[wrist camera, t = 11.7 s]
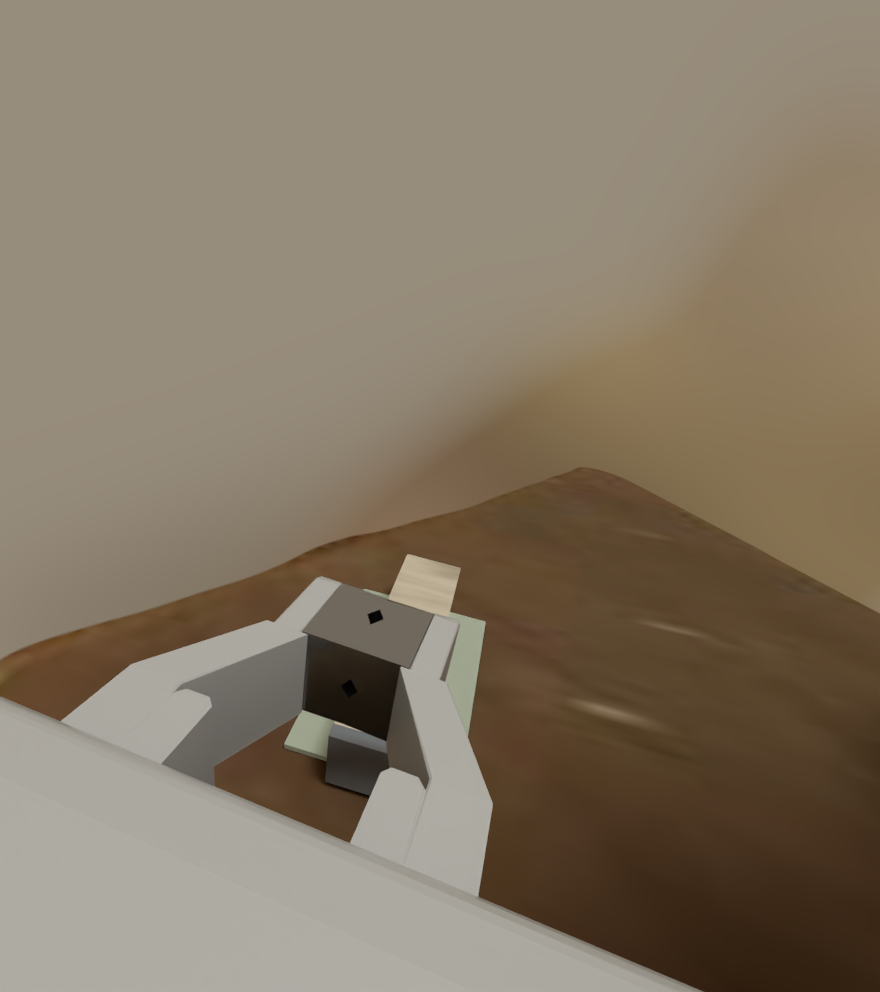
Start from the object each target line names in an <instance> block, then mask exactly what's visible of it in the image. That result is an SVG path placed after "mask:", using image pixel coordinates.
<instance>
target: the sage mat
mask: <svg viewBox="0 0 880 992" xmlns="http://www.w3.org/2000/svg"><path fill="white" fill-rule="evenodd" d="M363 590H364V591H367V592H370V593H372V594H375V595H378V596H381V597H384V598H387V599H388V598H389V595H386V594H382V593H378V592H375V591H371V590H367V589H363ZM449 618H453V619H456V620H459V621H460V627H459V631H458V635H457V639H456V643H455V647H454V651H453V655H452V659H451V663H450V667H449V670H448V674H447V677H446V681H445V682H446V683H447V684H448V686H449V689H450V692H451V694H452V697H453V700H454V702H455V705H456V708H457V710H458V713H459V716H460V718H461V721H462V723H463V726H464V729H465V731H466V734H467V737H468V732H469V726H470V719H471V713H472V706H473V700H474V693H475V687H476V680H477V674H478V668H479V661H480V655H481V648H482V642H483V635H484V629H485V623H486V622H485V621H481V620H477V619H474V618H470V617H466V616H463V615H459V614H455V613H452V612H450V613H449ZM334 722H335V721H333V720H330V719H327V718H324V717H321V716H319V715H316V714H313V713H310V712H307V711H304V710H302V713H300V714H299V716H298V718H297V720H296V722H295V724H294V725H293V727H292V729H291V731H290V733H289V735H288V737H287V739H286V741H285V743H284V748H285V749H288V750H291V751H294V752H298V753H301V754H304V755H307V756H311V757H314V758H317V759H320V760H324V761H327V749H328V737H329V734H330V731H331V729H332V727H333V724H334Z"/></svg>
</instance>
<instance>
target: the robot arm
mask: <svg viewBox="0 0 880 992" xmlns="http://www.w3.org/2000/svg"><path fill="white" fill-rule="evenodd" d="M459 627H460V621H459V620H456V619H453V618H449V617H446V616H443V615H439V614H433V613H430V612H427V611H424V610H421V609H417V608H414V607H411V606H408V605H405V604H402V603H398V602H395V601H392V600H389V599H387V598H384V597H381V596H378V595H375V594H372V593H370V592H367V591H364V590H361V589H358V588H355V587H352V586H349V585H347V584H342V583H340V582H337V581H334V580H331V579H328V578H325V577H322V576H321V577H318V578H316V579H315V580H314V581H313V582H312V583H311V584H310V585H309V586H308V587H307V588H306V589H305V590H304V591H303V592H302V593H301V595H300V596H299V597H298V598H297V599H296V600H295V601H294V602H293V603H292V604H291V605H290V606H289V607H288V608H287V609H286V610H285V611H284V612H283V613H282V614H281V616H280V617H279V618H278V619H277V620H276V621H275V622H271V621H268V620H266V621H263V622H260V623H257V624H254V625H251V626H248V627H245V628H242V629H239V630H236V631H232V632H229V633H226V634H223V635H220V636H217V637H214V638H211V639H208V640H205V641H202V642H198V643H195V644H192V645H189V646H186V647H183V648H180V649H177V650H174V651H171V652H168V653H164V654H161V655H158V656H155V657H152V658H149V659H146V660H143V661H140V662H137V663H134V664H131V665H130V666H129V667H127V668H126V669H125V670H124V671H122V672H121V673H120V674H119V675H117V676H116V677H115V678H114V679H112V680H111V681H110V682H109V683H108V684H106V685H105V686H104V687H103V688H101V689H100V690H99V691H98V692H96V693H95V694H94V695H93V696H91V697H90V698H89V699H88V700H86V701H85V702H84V703H83V704H81V705H80V706H79V707H78V708H77V709H75V710H74V711H73V712H72V713H70V714H69V715H68V716H67V717H65V718H64V719H63V720H62V721H58V720H55V719H53V718H50V717H48V716H46V715H43V714H41V713H39V712H36V711H34V710H31V709H29V708H27V707H24V706H22V705H20V704H17V703H15V702H12V701H10V700H8V699H5V698H3V697H0V992H703V991H701V990H699V989H696V988H694V987H691V986H689V985H687V984H684V983H682V982H679V981H677V980H675V979H672V978H670V977H668V976H665V975H663V974H660V973H658V972H656V971H653V970H651V969H649V968H646V967H644V966H641V965H639V964H637V963H634V962H632V961H629V960H627V959H625V958H622V957H620V956H618V955H615V954H613V953H610V952H608V951H606V950H603V949H601V948H599V947H596V946H594V945H591V944H589V943H587V942H584V941H582V940H580V939H577V938H575V937H572V936H570V935H568V934H565V933H563V932H560V931H558V930H556V929H553V928H551V927H549V926H546V925H544V924H541V923H539V922H537V921H534V920H532V919H530V918H527V917H525V916H522V915H520V914H518V913H515V912H513V911H510V910H508V909H506V908H503V907H501V906H499V905H496V904H494V903H491V902H489V901H487V900H484V899H482V898H480V897H478V894H479V888H480V881H481V875H482V869H483V863H484V857H485V850H486V844H487V838H488V832H489V825H490V819H491V813H492V807H493V803H492V801H491V798H490V795H489V793H488V790H487V787H486V785H485V782H484V779H483V777H482V774H481V771H480V769H479V766H478V763H477V761H476V758H475V755H474V753H473V750H472V747H471V745H470V742H469V739H468V737H467V734H466V731H465V729H464V726H463V723H462V721H461V718H460V716H459V713H458V710H457V708H456V705H455V702H454V700H453V697H452V694H451V692H450V689H449V686H448V684H447V683H446V682H445V681H446V677H447V674H448V670H449V667H450V663H451V659H452V655H453V651H454V647H455V643H456V639H457V635H458V631H459ZM302 710H304V711H307V712H310V713H313V714H316V715H319V716H321V717H324V718H327V719H330V720H333V721H336V722H339V723H342V724H345V725H347V726H350V727H352V728H354V729H357V730H359V731H362V732H364V733H367V734H369V735H372V736H374V737H376V738H379V739H381V740H384V741H386V748H387V754H388V761H389V769H387V770H385V771H382V772H381V773H380V775H379V777H378V780H377V782H376V784H375V787H374V789H373V791H372V793H371V796H370V798H369V800H368V803H367V805H366V807H365V810H364V812H363V814H362V817H361V819H360V821H359V824H358V826H357V828H356V831H355V833H354V835H353V838H352V840H351V842H350V843H348V842H346V841H343V840H341V839H339V838H336V837H334V836H331V835H329V834H327V833H324V832H322V831H319V830H317V829H315V828H312V827H310V826H307V825H305V824H303V823H300V822H298V821H295V820H293V819H291V818H288V817H286V816H284V815H281V814H279V813H276V812H274V811H272V810H269V809H267V808H264V807H262V806H260V805H257V804H255V803H253V802H250V801H248V800H245V799H243V798H241V797H238V796H236V795H234V794H231V793H229V792H226V791H224V790H222V789H219V788H217V787H215V786H214V766H216V765H217V764H219V763H220V762H222V761H224V760H225V759H227V758H229V757H230V756H232V755H233V754H235V753H237V752H238V751H240V750H242V749H243V748H245V747H247V746H248V745H250V744H251V743H253V742H255V741H256V740H258V739H260V738H261V737H263V736H264V735H266V734H268V733H269V732H271V731H273V730H274V729H276V728H278V727H279V726H281V725H282V724H284V723H286V722H287V721H289V720H291V719H292V718H294V717H295V716H297V715H299V714H300V713H302Z"/></svg>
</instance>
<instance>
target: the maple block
mask: <svg viewBox="0 0 880 992" xmlns="http://www.w3.org/2000/svg"><path fill="white" fill-rule="evenodd" d="M460 569H461V568H458V567H455V566H451V565H447V564H443V563H439V562H436V561H432V560H428V559H424V558H421V557H417V556H413V555H409V554H407V556H406V559H405V561H404V563H403V565H402V568H401V570H400V572H399V575H398V577H397V579H396V582H395V584H394V586H393V588H392V591H391V593H390V595H389V598H388V599H389V600H392V601H395V602H398V603H402V604H405V605H408V606H411V607H414V608H417V609H421V610H424V611H427V612H430V613H433V614H439V615H443V616H446V617H449V613H450V609H451V605H452V601H453V597H454V593H455V589H456V585H457V581H458V577H459V573H460ZM387 769H389V761H388V754H387V748H386V741H384V740H381V739H379V738H376V737H374V736H372V735H369V734H367V733H364V732H362V731H359V730H357V729H354V728H352V727H350V726H347V725H345V724H342V723H339V722H336V721H335V722H334V724H333V727H332V729H331V731H330V734H329V737H328V749H327V761H326V774H325V782H328V783H331V784H334V785H337V786H340V787H344V788H347V789H350V790H353V791H356V792H360V793H363V794H366V795H369V796H371V793H372V791H373V789H374V787H375V784H376V782H377V780H378V777H379V775H380V773H381V772H382V771H385V770H387Z"/></svg>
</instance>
